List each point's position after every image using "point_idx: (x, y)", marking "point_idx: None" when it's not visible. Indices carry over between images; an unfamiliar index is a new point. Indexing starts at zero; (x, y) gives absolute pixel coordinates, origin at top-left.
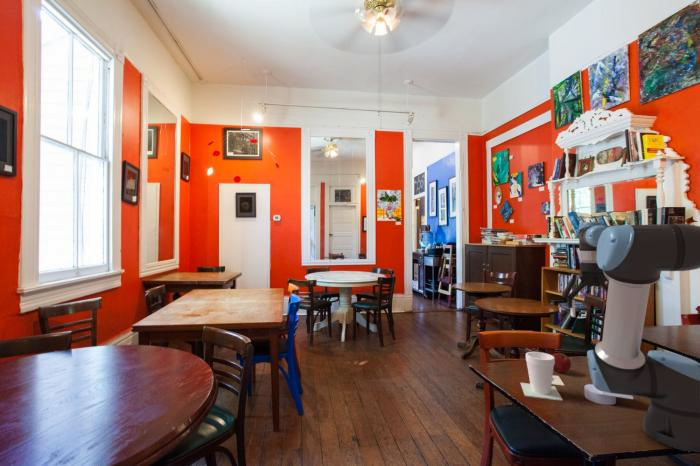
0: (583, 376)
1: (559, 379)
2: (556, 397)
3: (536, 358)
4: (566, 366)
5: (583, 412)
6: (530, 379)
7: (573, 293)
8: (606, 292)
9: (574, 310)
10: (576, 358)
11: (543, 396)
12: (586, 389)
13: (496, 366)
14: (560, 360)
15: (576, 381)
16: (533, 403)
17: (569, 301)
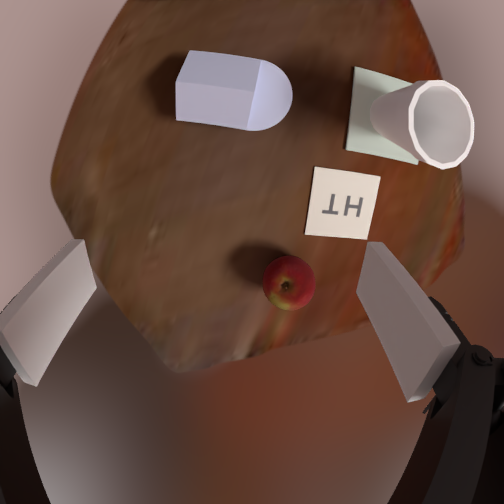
0: (235, 249)
1: (312, 208)
2: (365, 79)
3: (459, 95)
4: (281, 258)
5: (325, 16)
6: (425, 117)
7: (488, 416)
8: (31, 461)
9: (396, 272)
10: (211, 360)
11: (392, 83)
12: (291, 88)
13: (423, 267)
14: (298, 269)
15: (269, 207)
16: (417, 55)
17: (462, 339)
